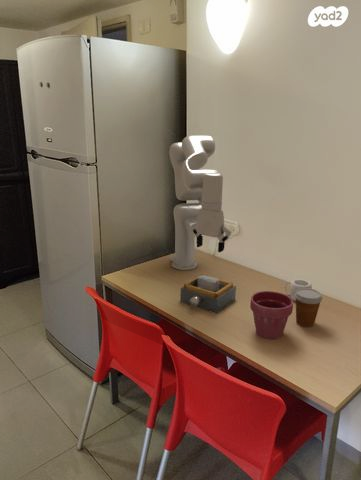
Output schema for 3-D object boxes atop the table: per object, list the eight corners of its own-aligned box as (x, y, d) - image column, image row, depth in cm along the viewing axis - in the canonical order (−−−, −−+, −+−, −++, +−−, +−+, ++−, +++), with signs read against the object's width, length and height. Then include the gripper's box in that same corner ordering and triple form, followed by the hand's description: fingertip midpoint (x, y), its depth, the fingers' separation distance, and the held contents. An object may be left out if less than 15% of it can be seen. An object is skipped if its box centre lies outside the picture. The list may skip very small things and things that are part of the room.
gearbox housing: (175, 304, 156) (175, 287, 154) (200, 289, 171) (201, 273, 168) (211, 317, 147) (212, 299, 145) (235, 299, 161) (236, 282, 159)
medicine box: (219, 298, 160) (220, 279, 157) (213, 302, 156) (214, 282, 154) (202, 293, 164) (203, 274, 161) (196, 297, 160) (197, 278, 158)
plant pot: (260, 318, 147) (263, 286, 143) (296, 330, 139) (300, 297, 135) (240, 333, 136) (243, 300, 133) (278, 348, 128) (281, 313, 124)
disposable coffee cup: (288, 325, 142) (292, 295, 138) (294, 314, 150) (298, 285, 146) (316, 332, 138) (320, 301, 134) (320, 320, 146) (324, 290, 142)
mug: (314, 300, 161) (316, 283, 159) (302, 306, 156) (304, 288, 154) (290, 290, 170) (292, 273, 168) (277, 295, 165) (279, 278, 163)
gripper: (187, 204, 150) (186, 246, 156) (226, 211, 141) (224, 256, 146) (197, 201, 156) (196, 242, 161) (236, 207, 147) (234, 250, 152)
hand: (210, 248), depth 154 cm, fingers open, 9 cm apart
